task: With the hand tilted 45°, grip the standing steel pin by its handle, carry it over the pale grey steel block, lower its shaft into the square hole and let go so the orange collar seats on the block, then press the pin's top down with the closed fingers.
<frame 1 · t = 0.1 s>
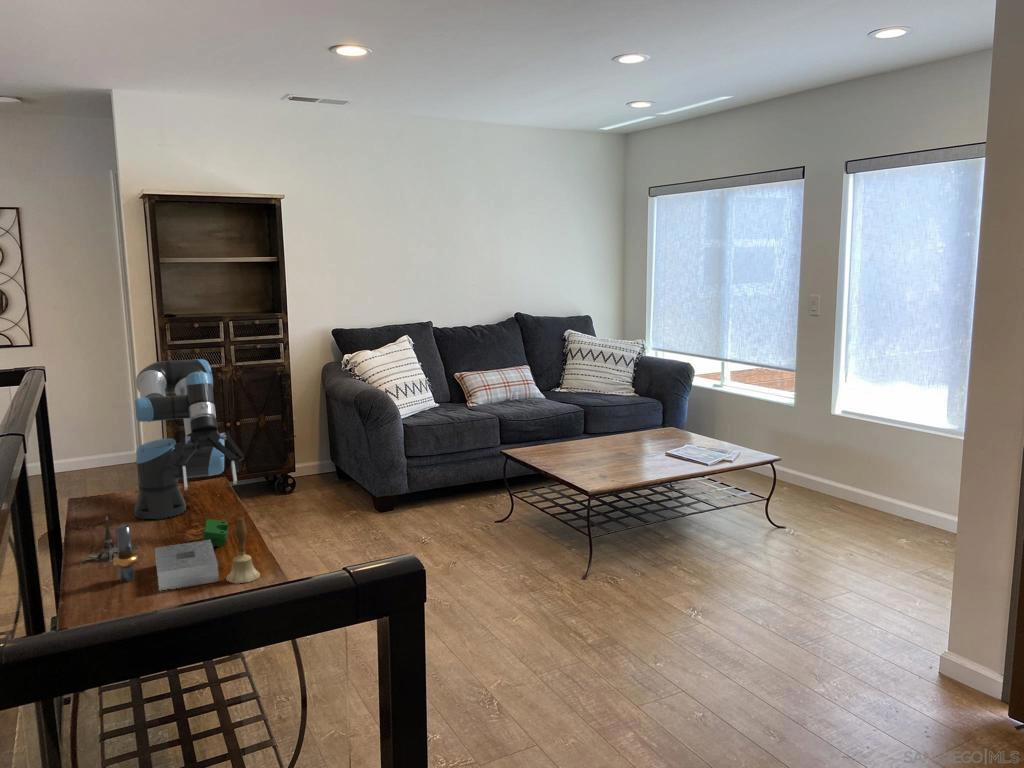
hand: (211, 485, 229), 15 cm above the table, tool tilted 35°, fingers open, 13 cm apart
hole block: (186, 573, 204), on the table
clamp: (215, 544, 225), on the table
hand bell: (243, 578, 202), on the table
eiffel tower figurine: (111, 559, 215), on the table
pin: (127, 580, 200), on the table
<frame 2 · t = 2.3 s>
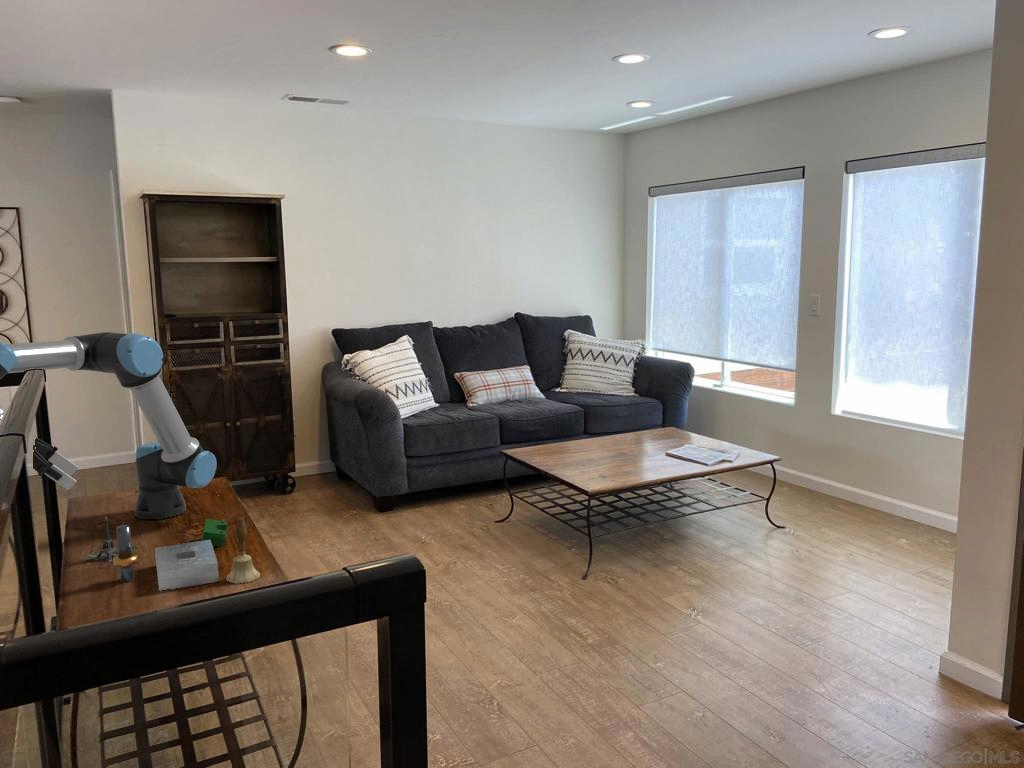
hand: (73, 478, 191), 28 cm above the table, tool tilted 45°, fingers open, 13 cm apart
nothing on the table moved.
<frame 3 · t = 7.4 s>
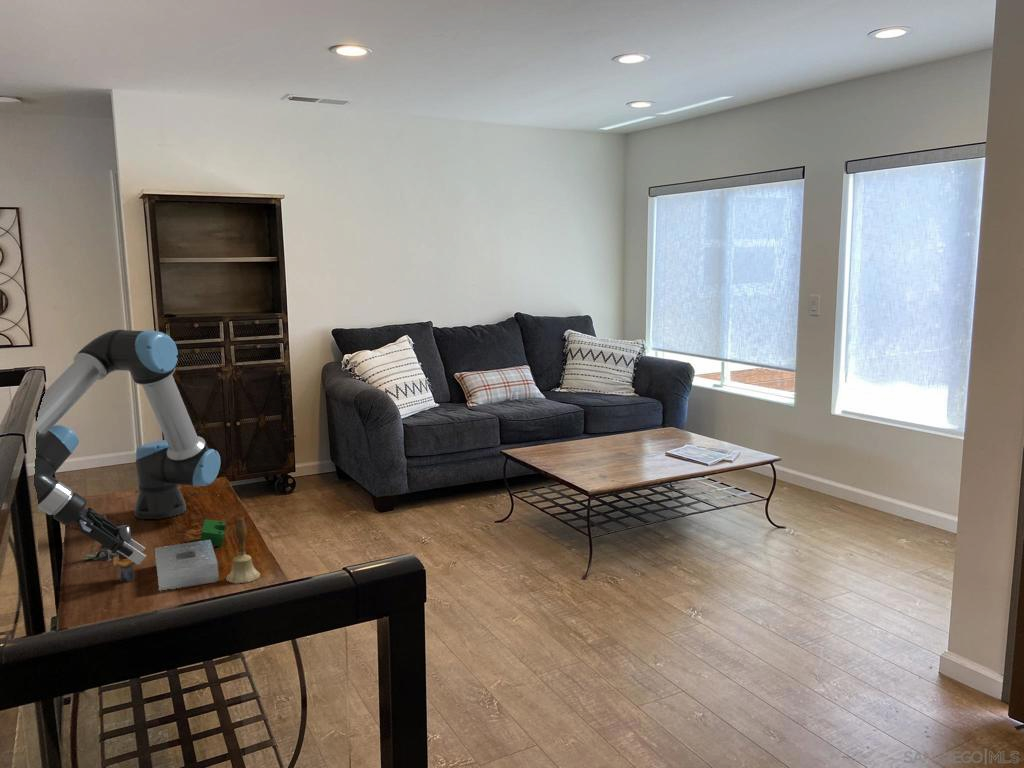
hand: (141, 556, 201), 6 cm above the table, tool tilted 45°, fingers closed on pin, 5 cm apart
pin: (127, 580, 200), on the table, touching gripper
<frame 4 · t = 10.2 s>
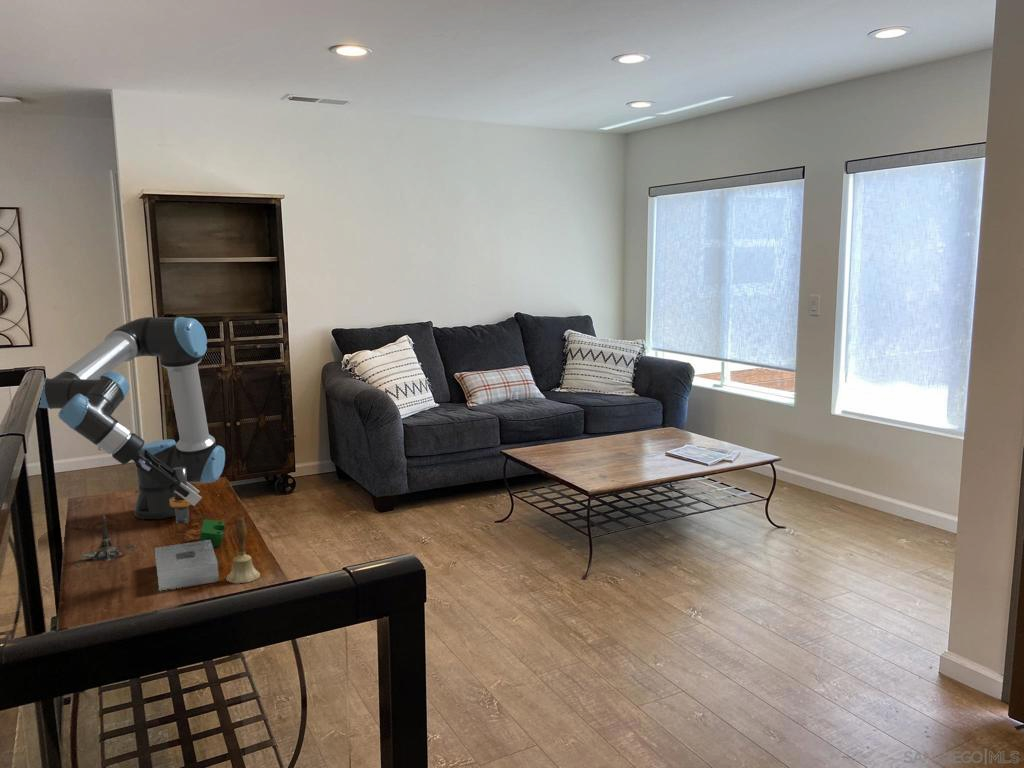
hand: (196, 498, 203), 20 cm above the table, tool tilted 45°, fingers closed on pin, 5 cm apart
pin: (182, 521, 202), point 14 cm above the table, touching gripper
when the fingers open (8 cm above the table, at t = 13.1 s): pin drops 2 cm, resting on hole block.
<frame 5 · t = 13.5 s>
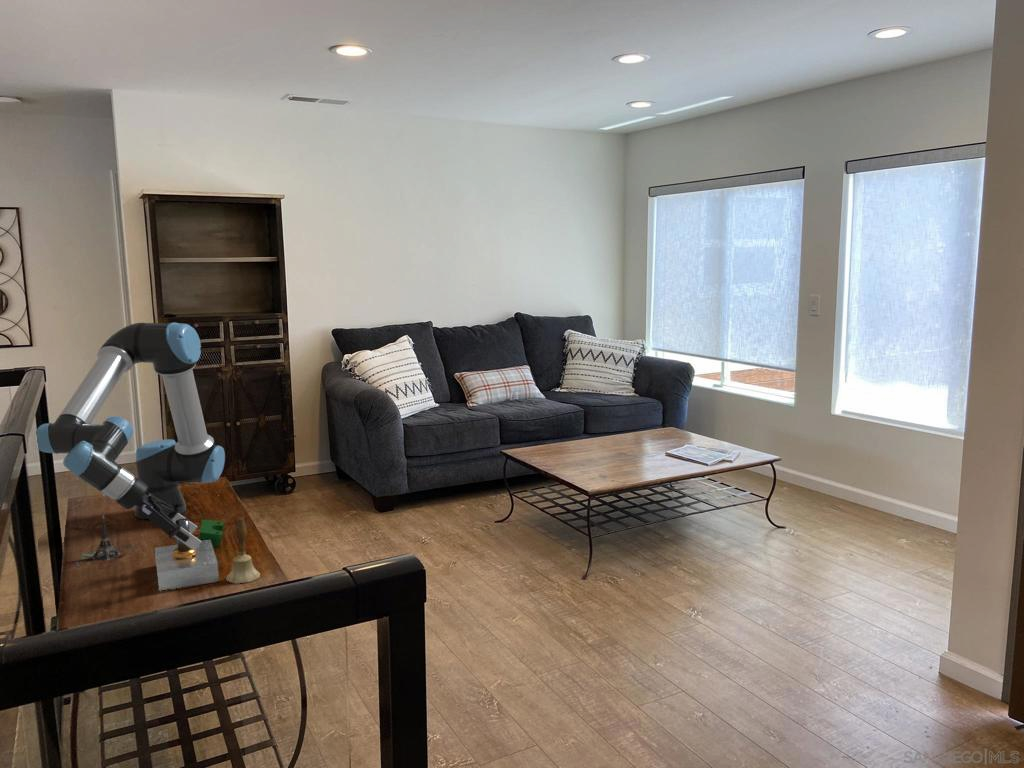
hand: (195, 538, 204), 9 cm above the table, tool tilted 45°, fingers open, 11 cm apart
pin: (185, 572, 204), resting on hole block
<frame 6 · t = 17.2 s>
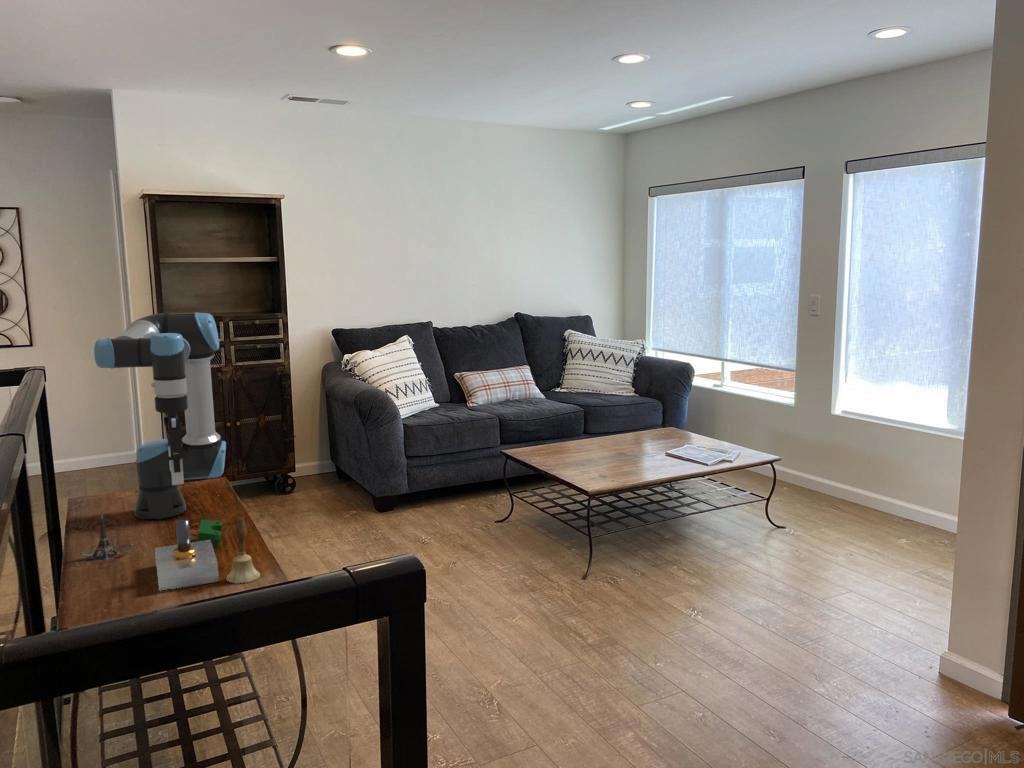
hand: (176, 477, 199), 26 cm above the table, tool pointing down, fingers open, 12 cm apart
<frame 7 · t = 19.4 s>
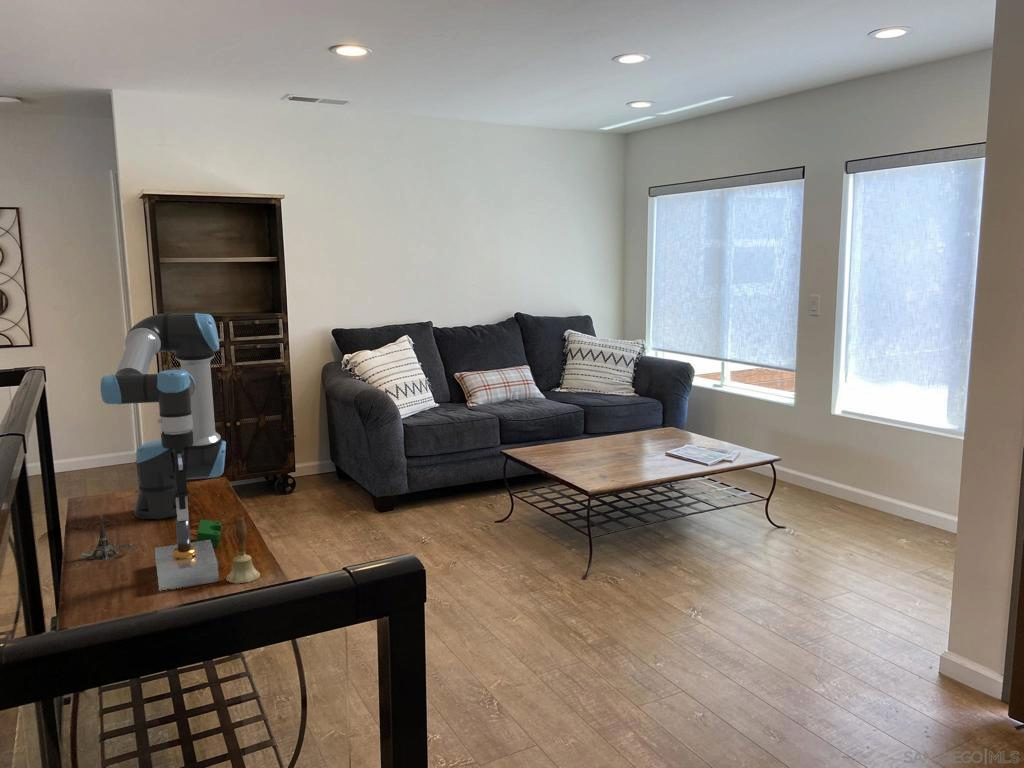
hand: (183, 519, 202), 15 cm above the table, tool pointing down, fingers closed
pin: (185, 572, 204), resting on hole block, touching gripper
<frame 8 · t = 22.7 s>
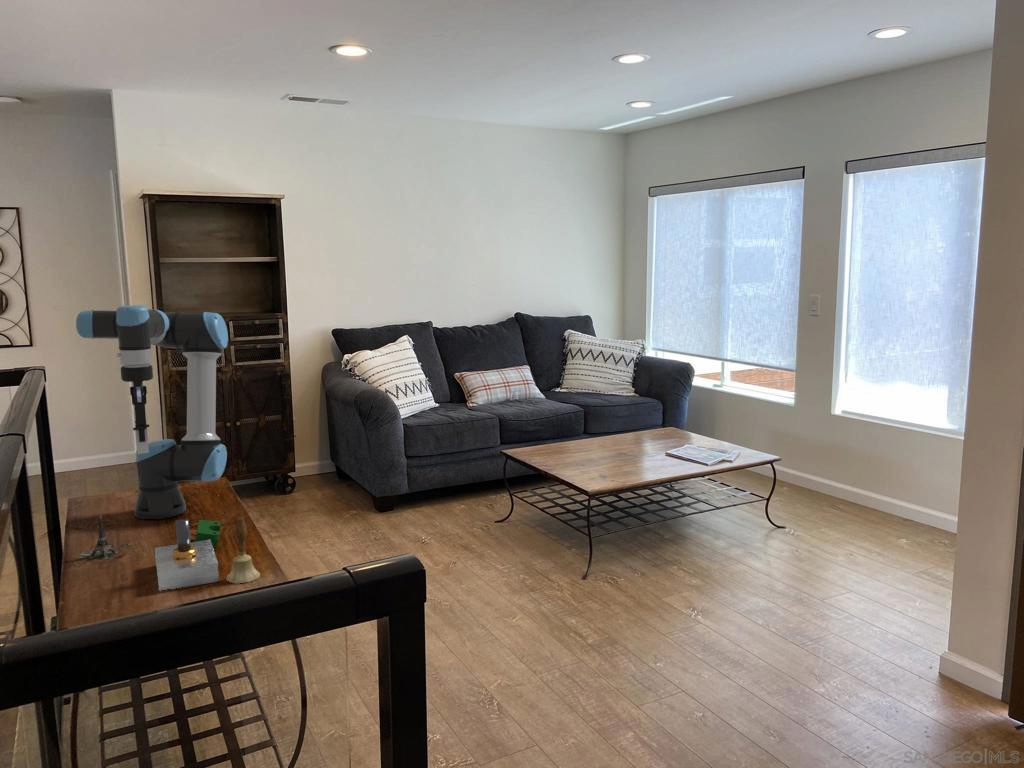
hand: (143, 452, 207), 30 cm above the table, tool pointing down, fingers closed
pin: (185, 572, 204), resting on hole block
at the end: pin 0.2 cm off-centre on the hole block, point 0.2 cm above the hole block's base; pin tilted 0°; the gripper is holding nothing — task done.
